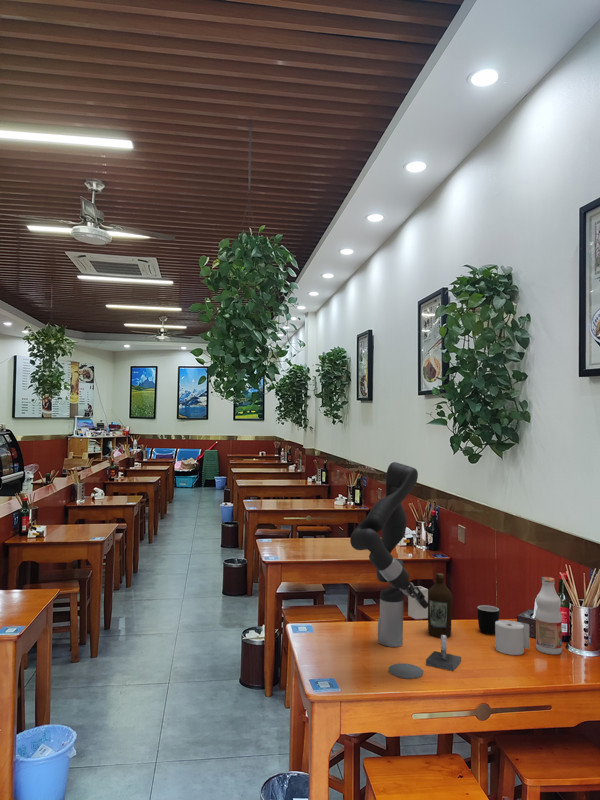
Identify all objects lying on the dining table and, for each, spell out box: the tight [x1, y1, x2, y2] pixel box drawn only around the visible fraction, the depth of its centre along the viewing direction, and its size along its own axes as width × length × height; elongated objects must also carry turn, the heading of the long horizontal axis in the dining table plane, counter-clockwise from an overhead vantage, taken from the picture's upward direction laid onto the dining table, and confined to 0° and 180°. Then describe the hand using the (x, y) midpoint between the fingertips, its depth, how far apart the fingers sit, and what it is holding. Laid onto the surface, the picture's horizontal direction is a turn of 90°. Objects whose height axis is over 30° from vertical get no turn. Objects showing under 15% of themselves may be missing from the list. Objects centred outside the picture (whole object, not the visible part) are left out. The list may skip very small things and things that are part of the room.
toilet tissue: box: [494, 619, 531, 656], centre depth 223 cm, size 11×12×10 cm
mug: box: [476, 604, 500, 636], centre depth 245 cm, size 12×9×10 cm
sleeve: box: [407, 585, 429, 620], centre depth 202 cm, size 5×5×10 cm
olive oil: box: [427, 572, 454, 639], centre depth 240 cm, size 11×11×25 cm
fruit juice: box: [535, 576, 563, 655], centre depth 224 cm, size 9×9×28 cm
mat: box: [388, 662, 424, 680], centre depth 198 cm, size 12×12×1 cm
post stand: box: [425, 635, 462, 672], centre depth 207 cm, size 10×10×10 cm
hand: (422, 604), depth 203 cm, fingers closed on sleeve, 5 cm apart
